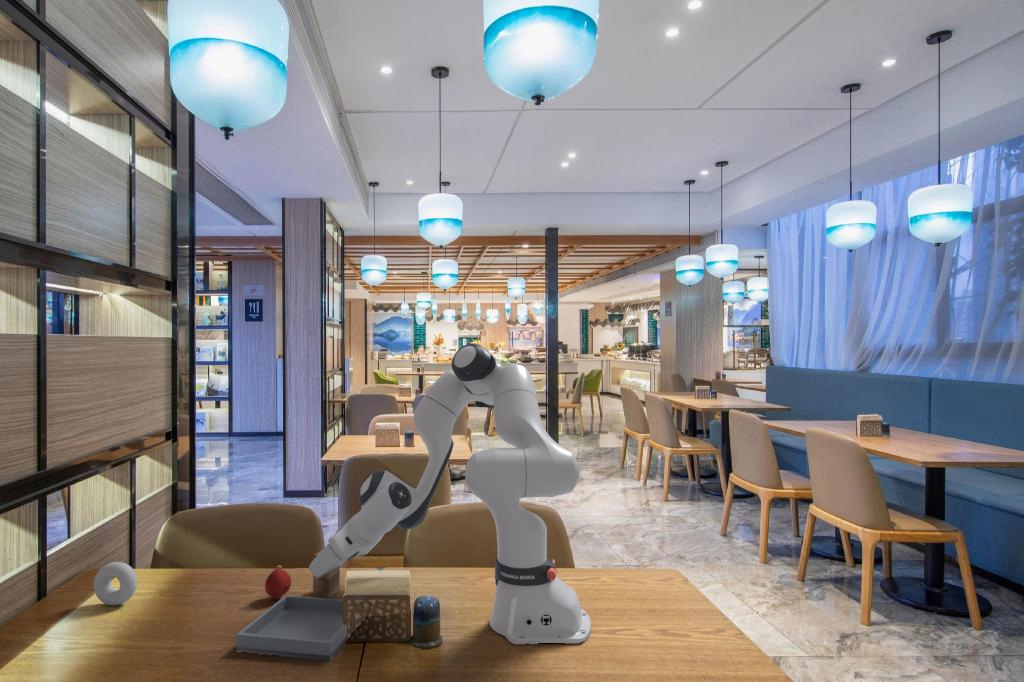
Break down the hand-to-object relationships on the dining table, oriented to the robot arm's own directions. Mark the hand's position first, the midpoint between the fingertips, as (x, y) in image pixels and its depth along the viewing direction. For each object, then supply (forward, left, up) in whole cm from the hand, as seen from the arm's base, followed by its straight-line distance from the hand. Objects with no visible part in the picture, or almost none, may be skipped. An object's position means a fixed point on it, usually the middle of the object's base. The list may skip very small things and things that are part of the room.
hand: (324, 571), depth 138 cm
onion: (+9, +5, -6) cm, 12 cm away
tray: (-6, +19, -5) cm, 21 cm away
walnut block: (-1, 0, -5) cm, 5 cm away
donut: (+45, +14, -6) cm, 48 cm away
